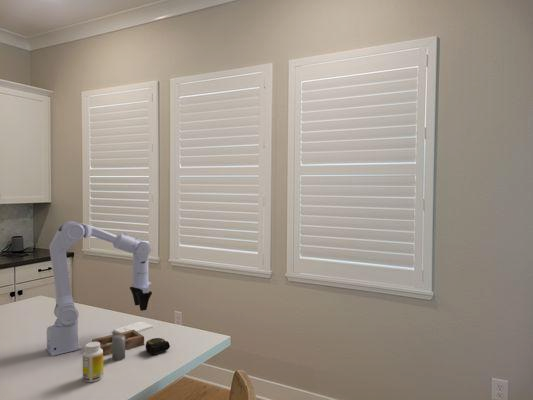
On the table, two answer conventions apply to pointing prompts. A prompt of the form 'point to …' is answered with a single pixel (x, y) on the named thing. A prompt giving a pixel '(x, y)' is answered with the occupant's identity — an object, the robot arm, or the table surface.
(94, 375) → the supplement bottle
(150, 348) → the tape measure
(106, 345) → the box
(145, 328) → the external hard drive
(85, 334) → the table surface
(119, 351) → the plug
